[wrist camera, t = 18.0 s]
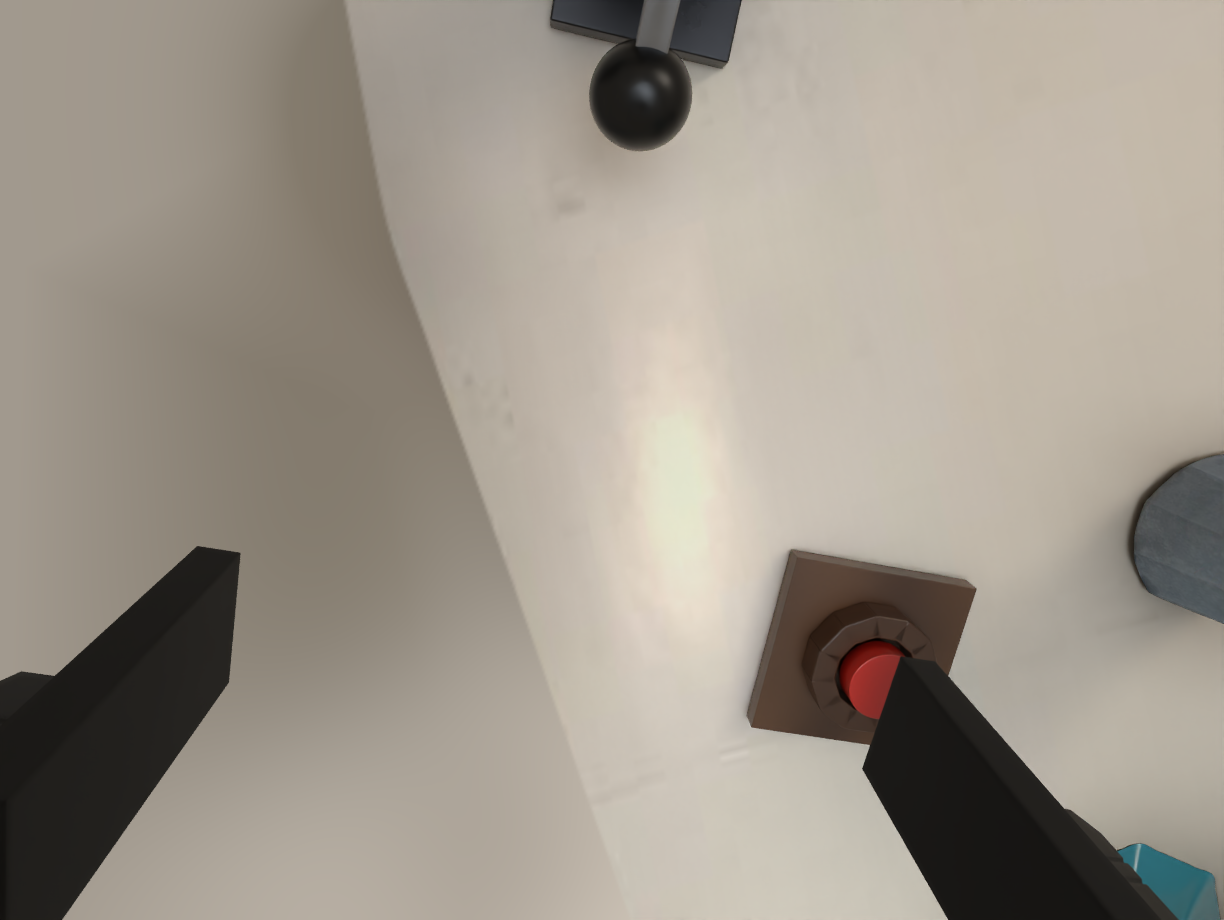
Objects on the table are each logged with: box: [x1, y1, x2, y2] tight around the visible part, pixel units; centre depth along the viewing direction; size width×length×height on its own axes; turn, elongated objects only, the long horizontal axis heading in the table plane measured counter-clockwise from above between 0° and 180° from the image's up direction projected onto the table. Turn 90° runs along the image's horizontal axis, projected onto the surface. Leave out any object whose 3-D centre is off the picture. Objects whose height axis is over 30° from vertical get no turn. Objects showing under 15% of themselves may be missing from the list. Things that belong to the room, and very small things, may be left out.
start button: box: [839, 641, 905, 719], centre depth 41 cm, size 4×4×2 cm
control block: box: [747, 550, 976, 745], centre depth 43 cm, size 10×10×3 cm
